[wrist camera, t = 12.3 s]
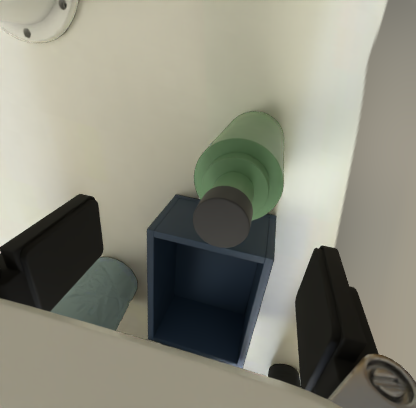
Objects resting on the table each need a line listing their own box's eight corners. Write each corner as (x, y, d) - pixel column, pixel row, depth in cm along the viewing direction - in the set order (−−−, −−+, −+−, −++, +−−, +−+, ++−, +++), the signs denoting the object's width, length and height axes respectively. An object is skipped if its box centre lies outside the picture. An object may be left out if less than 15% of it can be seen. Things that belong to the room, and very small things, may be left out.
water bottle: (229, 106, 27) (165, 155, 13) (290, 116, 26) (298, 180, 12) (221, 164, 30) (162, 256, 16) (276, 174, 29) (268, 283, 15)
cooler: (175, 194, 34) (146, 229, 26) (276, 215, 31) (274, 259, 24) (170, 293, 42) (147, 339, 35) (249, 315, 40) (242, 369, 33)
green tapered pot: (90, 243, 41) (26, 302, 31) (149, 270, 41) (103, 339, 31) (85, 285, 47) (29, 348, 36) (137, 309, 46) (95, 380, 36)
